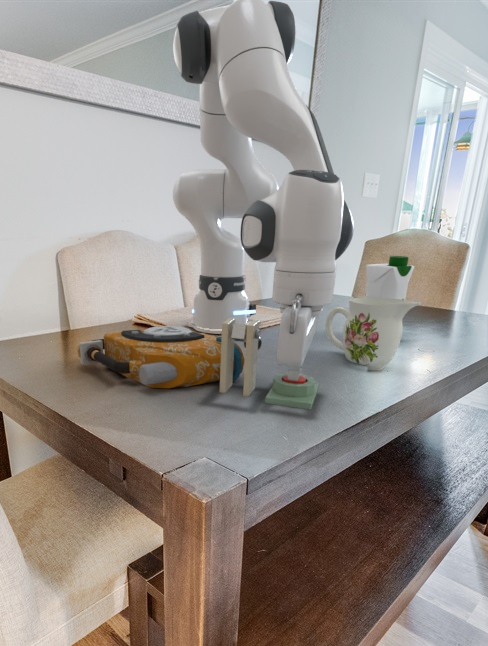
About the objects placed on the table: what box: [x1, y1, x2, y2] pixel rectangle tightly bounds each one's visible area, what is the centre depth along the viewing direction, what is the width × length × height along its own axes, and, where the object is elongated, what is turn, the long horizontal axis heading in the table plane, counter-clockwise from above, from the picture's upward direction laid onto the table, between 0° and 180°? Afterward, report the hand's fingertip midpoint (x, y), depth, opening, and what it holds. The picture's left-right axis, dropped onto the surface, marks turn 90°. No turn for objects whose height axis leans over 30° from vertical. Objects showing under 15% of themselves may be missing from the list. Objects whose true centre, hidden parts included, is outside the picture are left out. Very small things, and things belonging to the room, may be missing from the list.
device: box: [76, 325, 245, 389], centre depth 87 cm, size 23×8×30 cm
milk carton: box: [364, 255, 415, 300], centre depth 112 cm, size 9×9×20 cm
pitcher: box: [325, 296, 422, 371], centre depth 93 cm, size 11×18×14 cm, turn 46°
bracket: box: [219, 318, 261, 397], centre depth 75 cm, size 10×8×13 cm
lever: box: [231, 323, 263, 351], centre depth 78 cm, size 13×3×3 cm, turn 158°
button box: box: [264, 372, 320, 410], centre depth 75 cm, size 10×7×4 cm
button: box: [283, 375, 306, 384], centre depth 74 cm, size 4×4×2 cm
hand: (294, 378), depth 74 cm, fingers closed, pressing on button
